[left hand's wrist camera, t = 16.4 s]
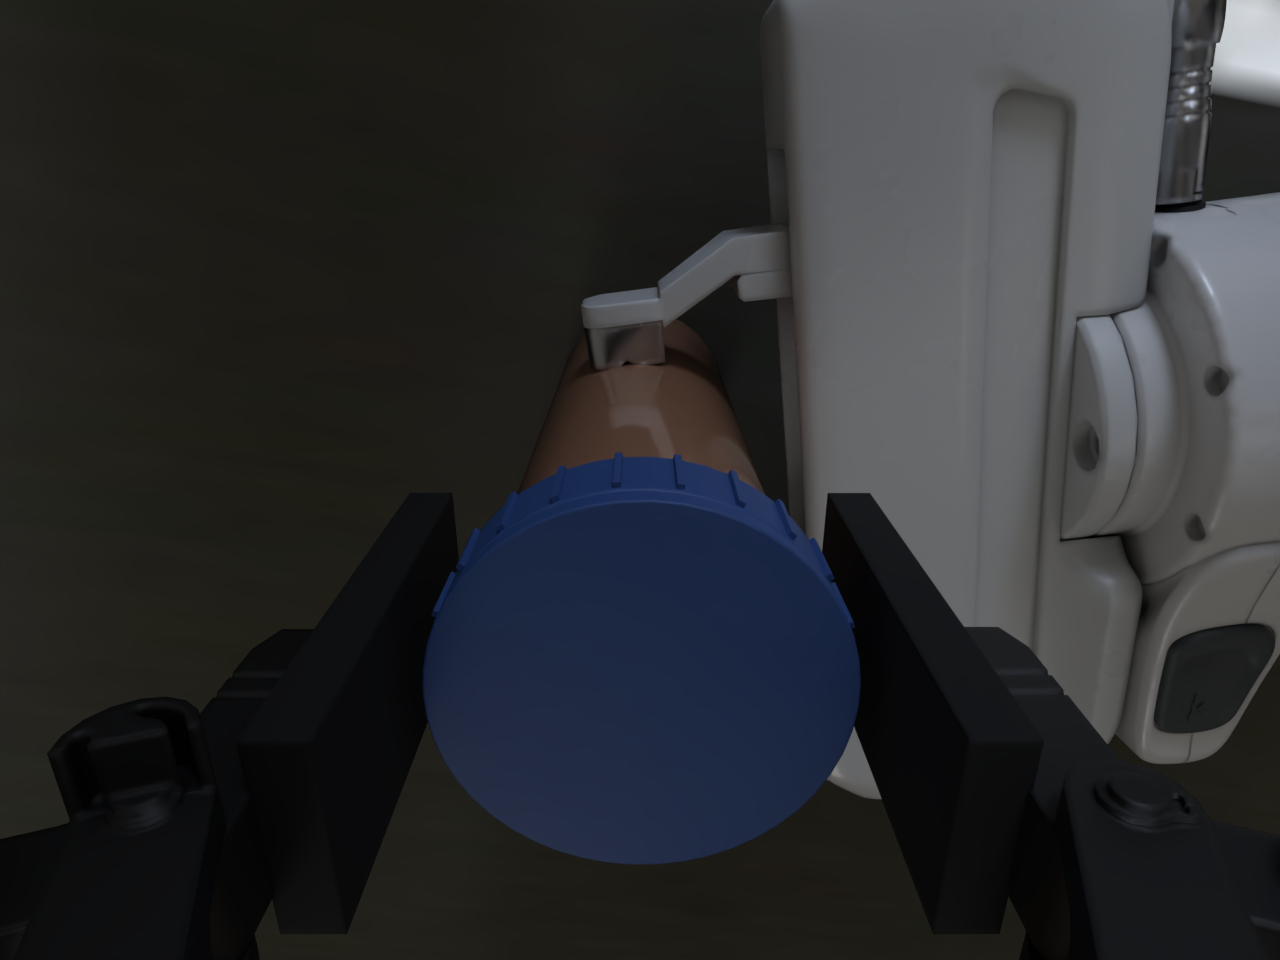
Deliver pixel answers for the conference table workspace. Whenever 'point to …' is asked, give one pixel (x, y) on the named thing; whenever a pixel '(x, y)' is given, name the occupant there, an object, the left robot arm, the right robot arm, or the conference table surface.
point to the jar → (643, 413)
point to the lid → (641, 663)
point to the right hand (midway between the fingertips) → (605, 462)
